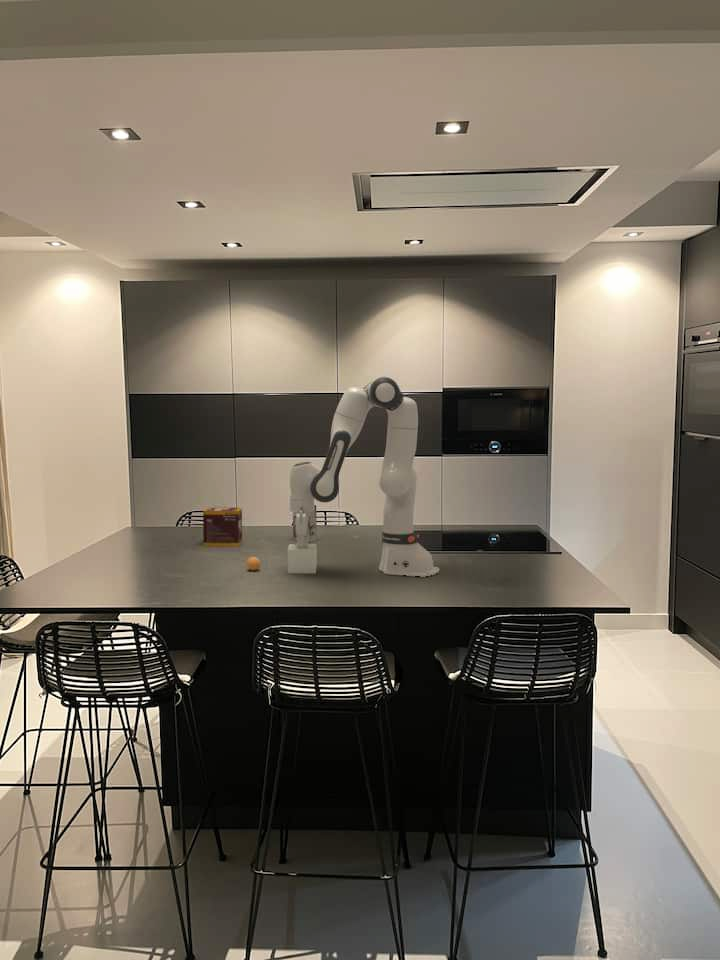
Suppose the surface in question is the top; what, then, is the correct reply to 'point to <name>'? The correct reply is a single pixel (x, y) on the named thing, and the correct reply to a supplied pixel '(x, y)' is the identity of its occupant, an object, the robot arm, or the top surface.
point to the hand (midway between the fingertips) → (302, 543)
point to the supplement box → (222, 526)
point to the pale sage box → (302, 557)
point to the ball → (253, 563)
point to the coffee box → (308, 527)
